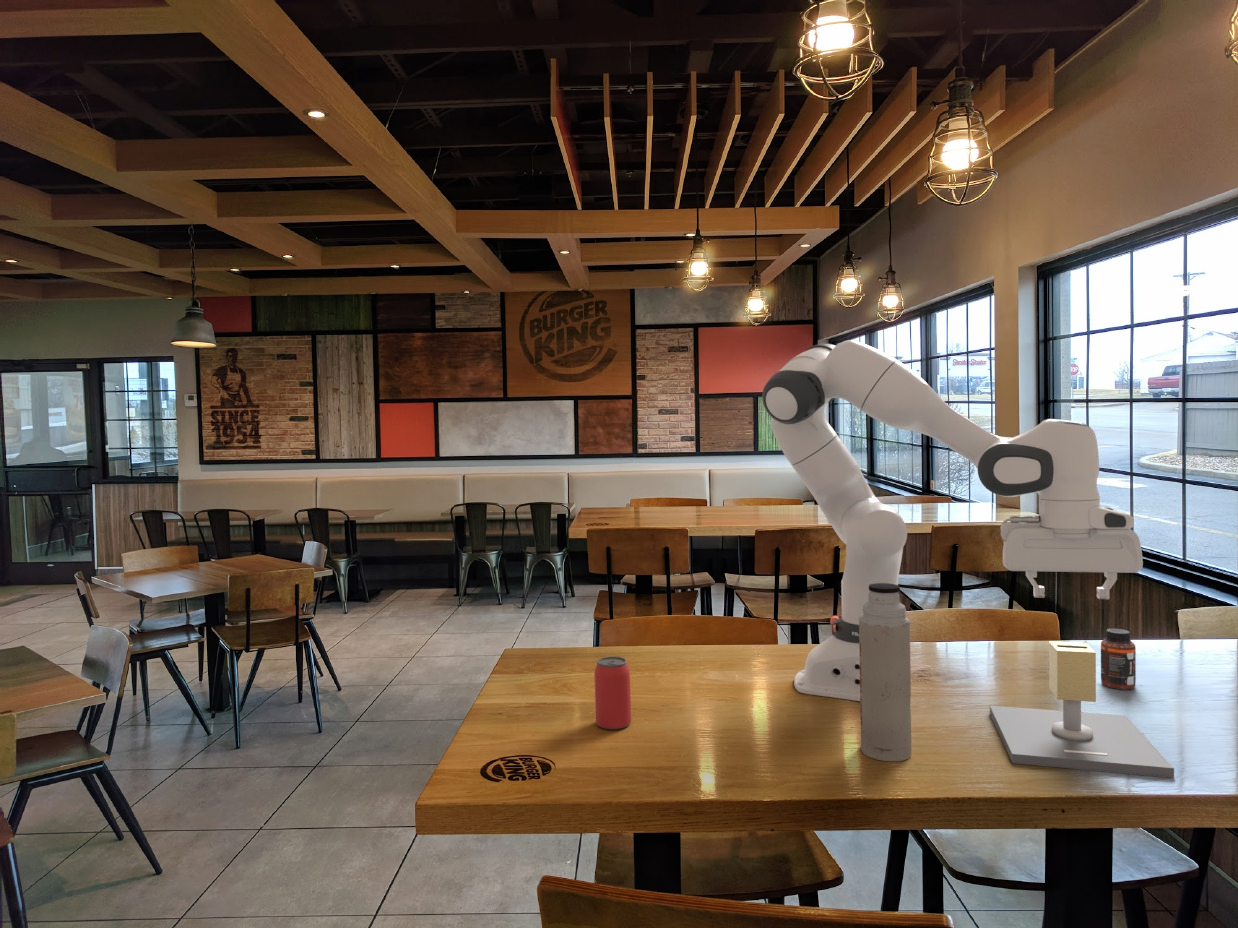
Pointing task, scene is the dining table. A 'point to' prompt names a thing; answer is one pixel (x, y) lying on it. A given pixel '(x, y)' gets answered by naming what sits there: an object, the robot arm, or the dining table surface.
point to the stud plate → (1077, 740)
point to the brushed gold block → (1072, 671)
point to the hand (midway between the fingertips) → (1070, 597)
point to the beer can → (612, 693)
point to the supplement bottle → (1118, 660)
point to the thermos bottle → (885, 675)
